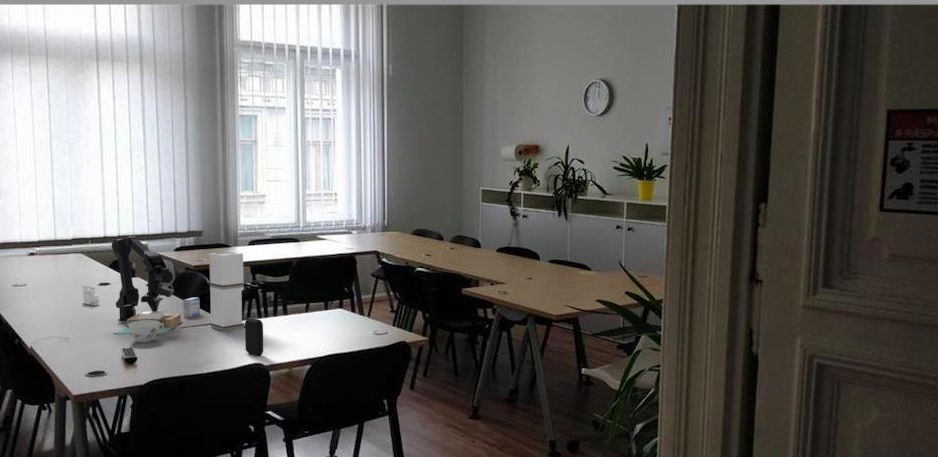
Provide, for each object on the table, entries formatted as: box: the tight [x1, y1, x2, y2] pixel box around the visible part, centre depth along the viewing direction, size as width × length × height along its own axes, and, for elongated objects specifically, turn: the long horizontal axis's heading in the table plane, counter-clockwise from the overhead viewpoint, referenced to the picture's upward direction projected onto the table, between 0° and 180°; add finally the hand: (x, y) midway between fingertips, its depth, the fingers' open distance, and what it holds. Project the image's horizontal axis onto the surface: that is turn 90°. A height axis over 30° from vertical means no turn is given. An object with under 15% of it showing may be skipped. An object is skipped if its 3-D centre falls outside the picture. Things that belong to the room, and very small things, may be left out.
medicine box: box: [182, 296, 201, 318], centre depth 397 cm, size 8×4×9 cm, turn 168°
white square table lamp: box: [209, 251, 245, 332], centre depth 369 cm, size 11×11×35 cm
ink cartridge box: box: [82, 285, 100, 306], centre depth 426 cm, size 2×11×10 cm, turn 57°
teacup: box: [128, 320, 164, 343], centre depth 342 cm, size 15×12×8 cm
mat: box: [113, 326, 173, 335], centre depth 362 cm, size 22×12×1 cm, turn 91°
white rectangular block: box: [139, 310, 165, 319], centre depth 371 cm, size 9×6×2 cm, turn 92°
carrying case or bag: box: [243, 317, 264, 357], centre depth 319 cm, size 11×3×15 cm, turn 54°
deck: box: [126, 313, 182, 329], centre depth 374 cm, size 20×14×4 cm
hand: (155, 313), depth 375 cm, fingers closed
